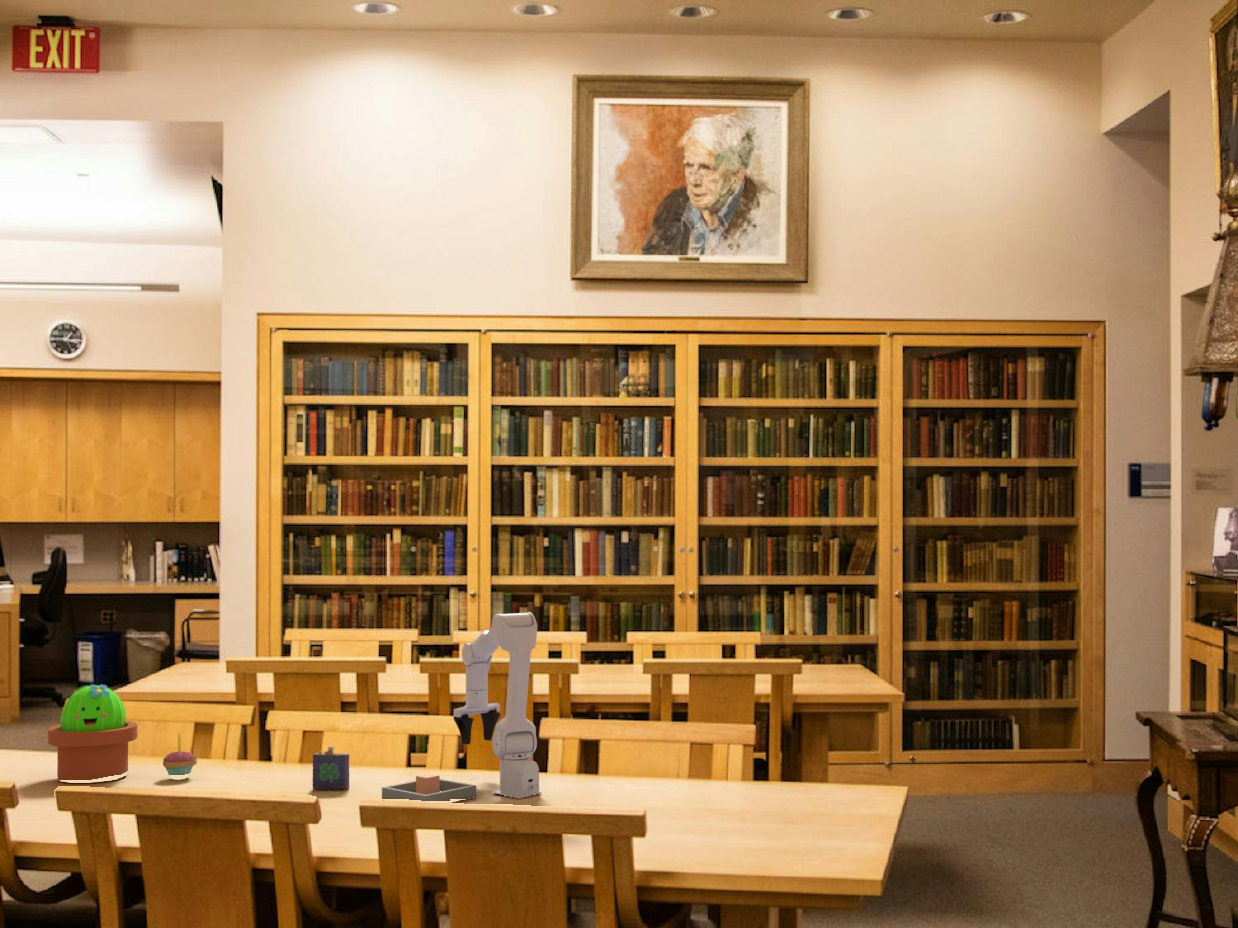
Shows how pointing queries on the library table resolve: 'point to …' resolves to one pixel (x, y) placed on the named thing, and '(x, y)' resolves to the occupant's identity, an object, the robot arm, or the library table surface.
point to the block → (427, 784)
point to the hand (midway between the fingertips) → (477, 741)
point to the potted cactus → (92, 735)
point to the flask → (330, 771)
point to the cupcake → (179, 761)
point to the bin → (447, 792)
